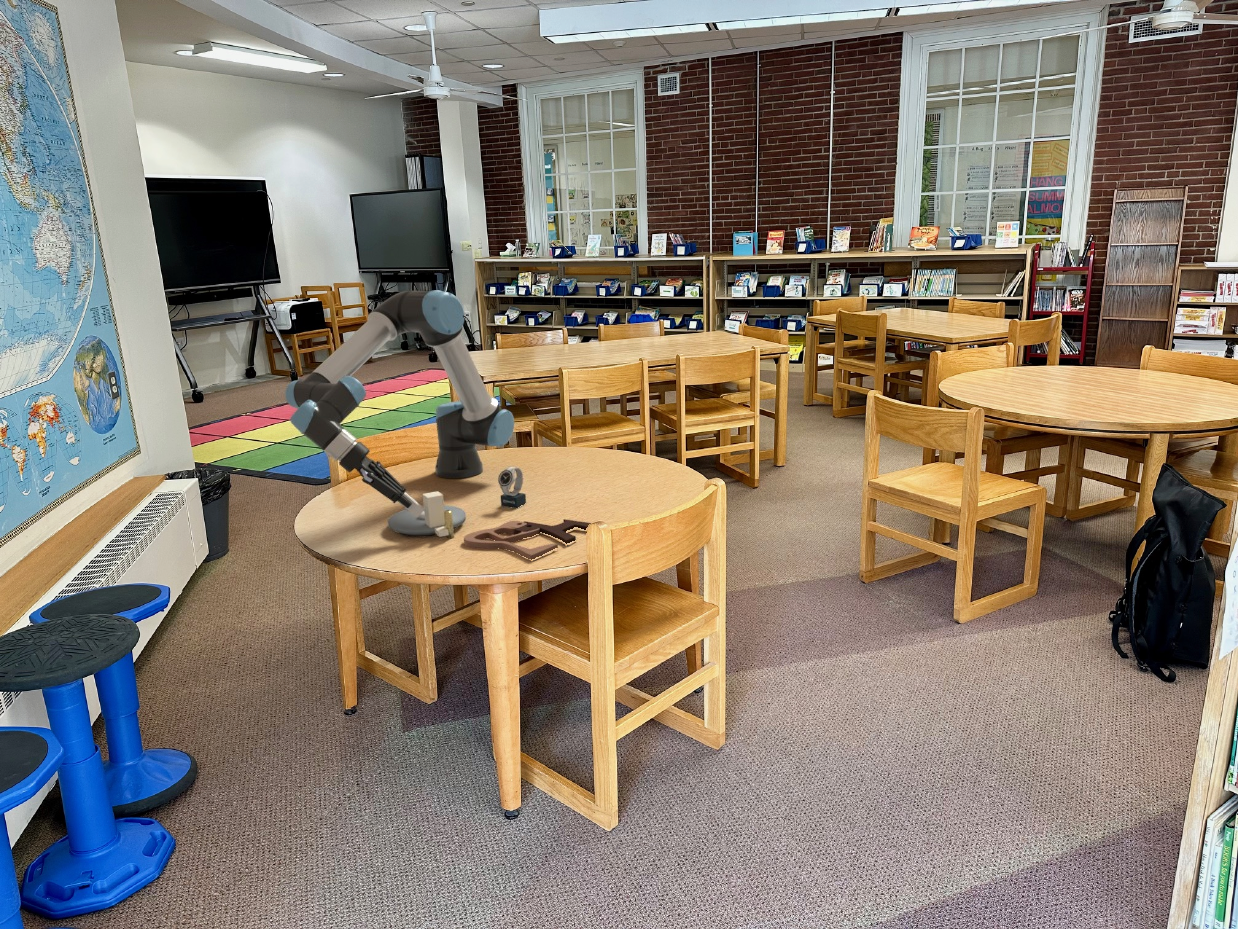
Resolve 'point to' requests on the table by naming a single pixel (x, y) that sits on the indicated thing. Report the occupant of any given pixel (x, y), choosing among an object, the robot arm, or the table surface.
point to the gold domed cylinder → (449, 523)
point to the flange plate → (419, 525)
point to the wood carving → (522, 536)
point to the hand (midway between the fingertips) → (420, 513)
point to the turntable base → (421, 534)
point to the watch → (506, 481)
